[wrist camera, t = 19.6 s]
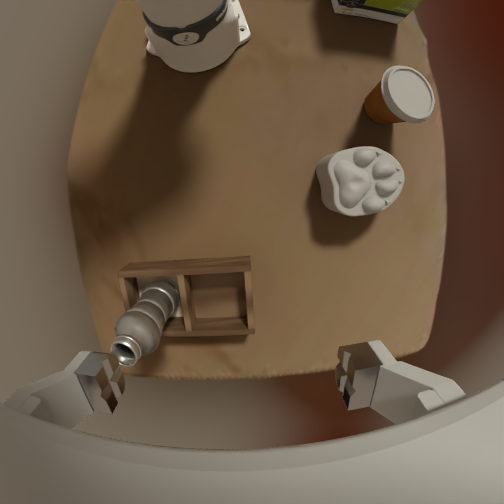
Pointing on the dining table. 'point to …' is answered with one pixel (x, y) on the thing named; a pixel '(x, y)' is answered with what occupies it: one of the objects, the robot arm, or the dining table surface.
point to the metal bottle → (144, 323)
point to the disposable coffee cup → (400, 97)
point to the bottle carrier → (198, 294)
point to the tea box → (376, 8)
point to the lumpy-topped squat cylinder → (359, 180)
